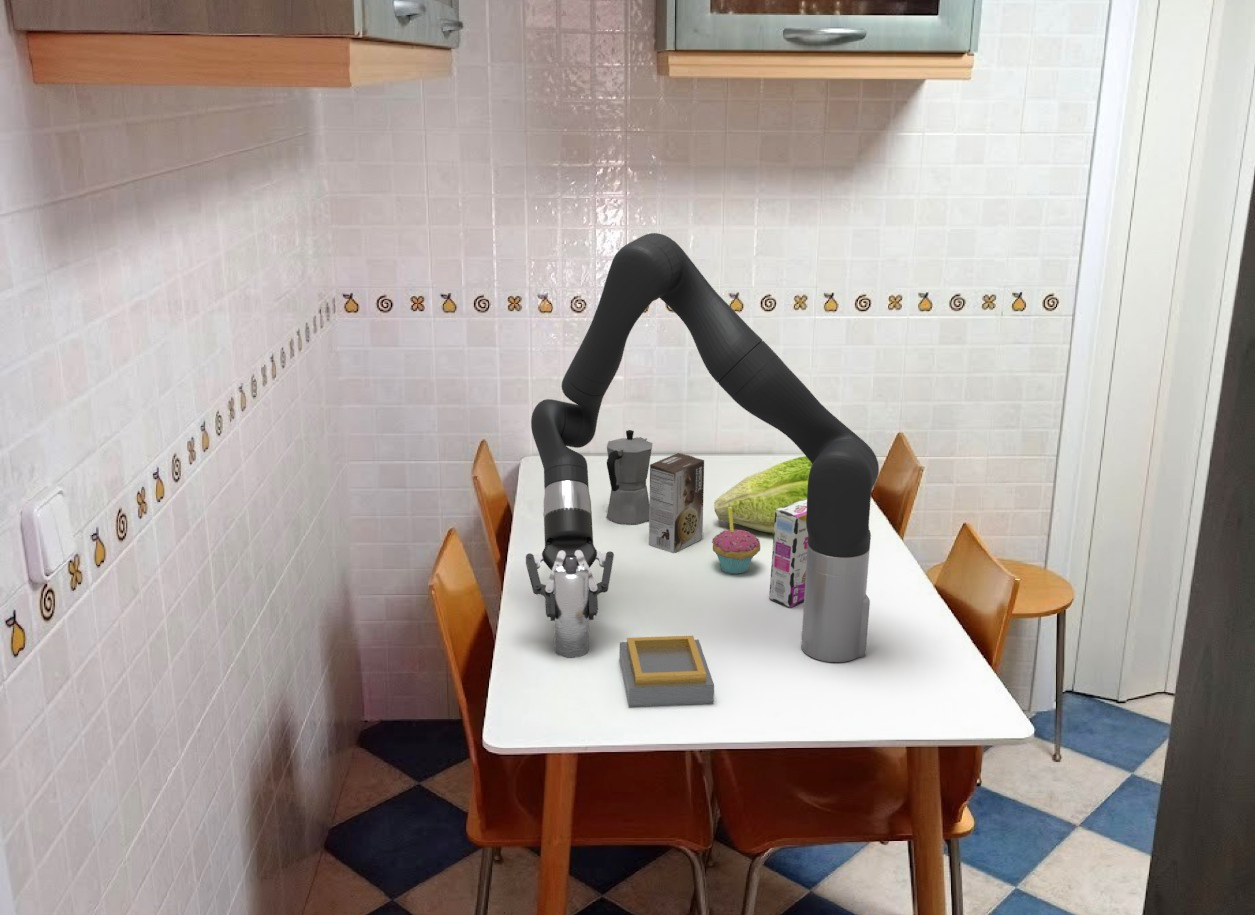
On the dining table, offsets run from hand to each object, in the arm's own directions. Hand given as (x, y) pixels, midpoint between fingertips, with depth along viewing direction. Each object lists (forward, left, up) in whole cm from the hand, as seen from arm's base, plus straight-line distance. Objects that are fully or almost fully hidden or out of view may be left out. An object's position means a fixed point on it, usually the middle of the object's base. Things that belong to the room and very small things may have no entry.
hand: (572, 618), depth 181 cm
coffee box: (-22, -44, -6) cm, 49 cm away
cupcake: (-31, -31, -6) cm, 44 cm away
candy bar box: (-40, -19, -6) cm, 45 cm away
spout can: (0, -2, -6) cm, 6 cm away
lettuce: (-43, -50, -6) cm, 66 cm away
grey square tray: (-13, +9, -6) cm, 17 cm away
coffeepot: (-14, -57, -6) cm, 59 cm away
